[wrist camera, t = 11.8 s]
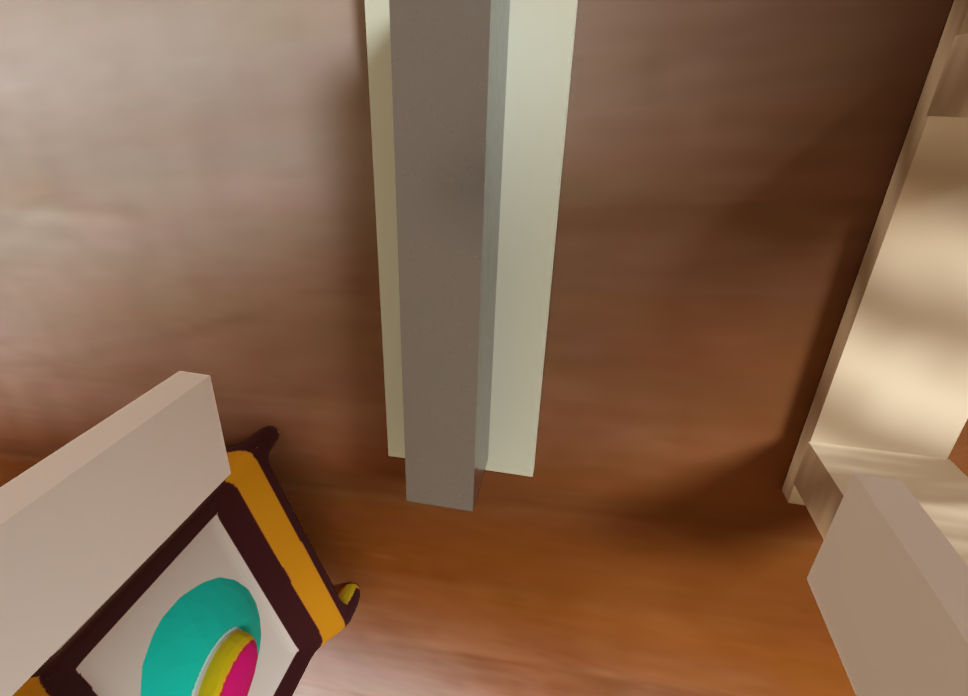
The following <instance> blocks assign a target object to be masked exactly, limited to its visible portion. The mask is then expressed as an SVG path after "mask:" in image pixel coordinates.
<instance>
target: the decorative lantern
mask: <svg viewBox="0 0 968 696" xmlns="http://www.w3.org/2000/svg"><path fill="white" fill-rule="evenodd" d="M278 437H279V431H278V430H277V429H276V427H272V426H268V427H265V428H262V429H261V430H260V431H258V432H257V433H256V434H254V435H253V436H251V437H250V438H249V439H247V440H246V441H244V442H242V443H239V444H237V445H234V446H230V447H226V452H227V457H228V461H229V466H230V471H231V474H230V475H229V476H228V477H227V478H226V479H225V480H224V481H223V482H222V483H221V484H220V485H219V486H218V487H217V488H216V489H215V490H214V491H213V492H212V493H211V494H210V495H209V496H208V497H207V498H206V499H205V500H204V501H203V502H202V503H201V504H200V505H199V506H198V507H197V508H196V509H195V510H194V511H193V512H192V513H191V514H190V516H189V517H188V518H187V519H186V520H185V521H184V522H183V523H182V524H181V525H180V526H179V527H178V528H177V529H176V530H175V531H174V532H173V533H172V534H171V535H170V536H169V537H168V538H167V539H166V540H165V541H164V542H163V543H162V544H161V545H160V546H159V547H158V548H157V549H156V550H155V551H154V552H153V553H152V554H151V555H150V556H149V557H148V558H147V559H146V560H145V561H144V562H143V563H142V564H141V565H140V566H139V567H138V568H137V569H136V570H135V571H134V572H133V573H132V574H131V575H130V576H129V577H128V579H127V580H126V581H125V582H124V583H123V584H122V585H121V586H120V587H119V588H118V589H117V590H116V591H115V592H114V593H113V594H112V595H111V596H110V597H109V598H108V599H107V600H106V601H105V602H104V603H103V604H102V605H101V606H100V607H99V608H98V609H97V610H96V611H95V612H94V613H93V614H92V615H91V616H90V617H89V618H88V619H87V620H86V621H85V622H84V623H83V624H82V625H81V626H80V627H79V628H78V629H77V630H76V631H75V632H74V633H73V634H72V635H71V636H70V637H69V638H68V639H67V641H66V642H65V643H64V644H63V645H62V646H61V647H60V648H59V649H58V650H57V651H56V652H55V653H54V654H53V655H52V656H51V657H50V658H49V659H48V660H47V661H46V662H45V663H44V664H43V665H42V666H41V667H40V668H39V669H38V670H37V671H36V672H35V673H34V674H33V675H32V676H31V677H30V678H29V679H28V680H27V681H26V682H25V683H24V684H23V685H22V686H21V687H20V688H19V689H18V690H17V691H16V692H15V693H14V694H13V695H12V696H292V695H293V693H294V691H295V689H296V687H297V685H298V683H299V681H300V679H301V677H302V675H303V673H304V671H305V669H306V667H307V665H308V663H309V661H310V659H311V658H312V656H313V655H314V653H315V652H316V650H317V649H318V648H319V647H320V646H321V645H323V644H324V643H325V642H327V641H328V640H329V639H331V638H332V637H333V636H335V635H336V634H337V633H339V632H340V631H341V630H343V629H344V628H345V627H346V625H347V624H348V623H349V622H350V620H351V618H352V616H353V614H354V612H355V610H356V607H357V605H358V601H359V598H360V589H359V587H358V586H357V585H356V584H353V583H350V584H347V585H345V586H344V587H343V588H342V589H341V590H340V592H339V593H338V594H337V592H336V590H335V589H334V587H333V585H332V583H331V581H330V579H329V577H328V576H327V574H326V572H325V570H324V568H323V566H322V564H321V562H320V561H319V559H318V557H317V555H316V553H315V551H314V549H313V547H312V546H311V544H310V542H309V540H308V538H307V536H306V534H305V533H304V531H303V529H302V527H301V525H300V523H299V521H298V519H297V518H296V516H295V514H294V512H293V510H292V508H291V506H290V505H289V503H288V501H287V499H286V497H285V495H284V493H283V491H282V490H281V488H280V486H279V484H278V482H277V480H276V478H275V476H274V475H273V473H272V470H271V467H270V465H269V454H270V451H271V450H272V448H273V446H274V445H275V443H276V441H277V440H278Z"/></svg>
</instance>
